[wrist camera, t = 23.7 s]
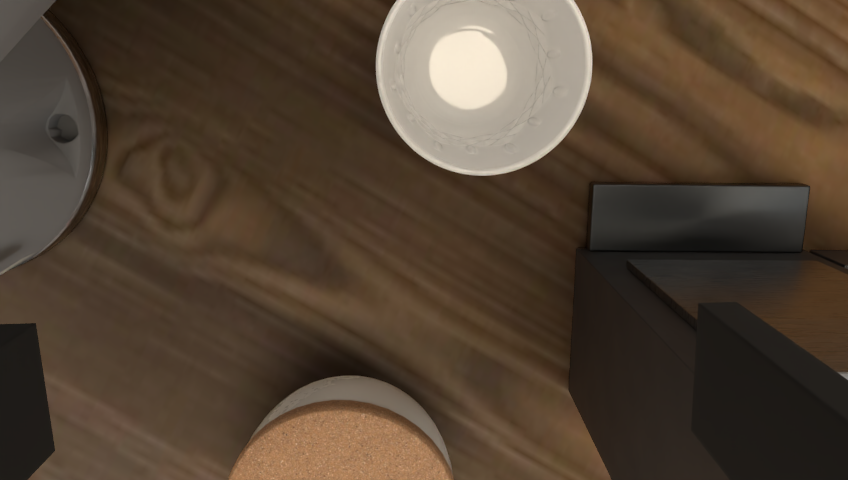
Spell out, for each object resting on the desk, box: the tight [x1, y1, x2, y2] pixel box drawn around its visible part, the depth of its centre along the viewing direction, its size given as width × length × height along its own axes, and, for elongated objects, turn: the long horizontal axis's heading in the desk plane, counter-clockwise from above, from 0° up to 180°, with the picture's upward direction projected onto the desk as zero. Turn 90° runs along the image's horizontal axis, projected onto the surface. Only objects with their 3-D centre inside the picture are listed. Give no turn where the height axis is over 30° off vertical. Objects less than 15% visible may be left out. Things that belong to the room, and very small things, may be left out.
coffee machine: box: [569, 182, 848, 480], centre depth 28 cm, size 12×12×23 cm
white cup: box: [376, 0, 592, 176], centre depth 31 cm, size 8×8×10 cm
